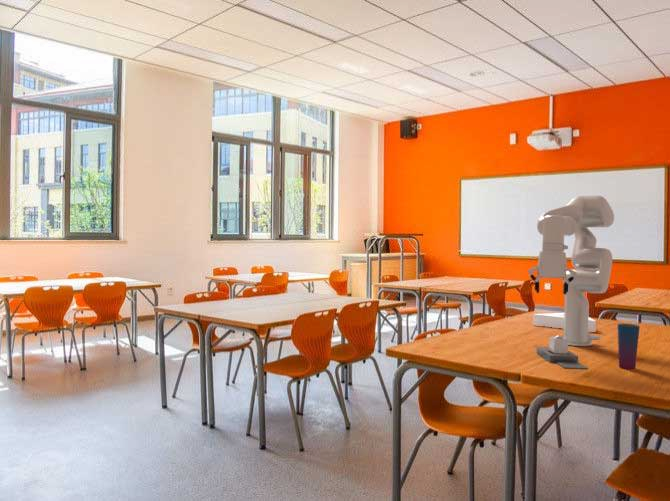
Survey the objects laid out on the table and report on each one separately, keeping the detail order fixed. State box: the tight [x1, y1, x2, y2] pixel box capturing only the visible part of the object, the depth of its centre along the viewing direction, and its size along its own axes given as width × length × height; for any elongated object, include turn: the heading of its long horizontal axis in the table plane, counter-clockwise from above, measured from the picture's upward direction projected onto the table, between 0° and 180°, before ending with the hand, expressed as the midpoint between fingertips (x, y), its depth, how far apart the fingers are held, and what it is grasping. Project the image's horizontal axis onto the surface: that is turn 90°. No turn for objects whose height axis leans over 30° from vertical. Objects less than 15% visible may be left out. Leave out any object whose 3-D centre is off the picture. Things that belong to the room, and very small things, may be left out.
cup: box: [617, 322, 640, 370], centre depth 194 cm, size 7×7×15 cm
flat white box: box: [532, 312, 597, 333], centre depth 284 cm, size 30×26×6 cm
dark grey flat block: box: [536, 346, 579, 363], centre depth 208 cm, size 10×15×3 cm, turn 177°
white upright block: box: [548, 335, 569, 355], centre depth 206 cm, size 5×5×9 cm
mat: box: [555, 362, 589, 370], centre depth 195 cm, size 8×8×1 cm
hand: (551, 293), depth 210 cm, fingers open, 9 cm apart
